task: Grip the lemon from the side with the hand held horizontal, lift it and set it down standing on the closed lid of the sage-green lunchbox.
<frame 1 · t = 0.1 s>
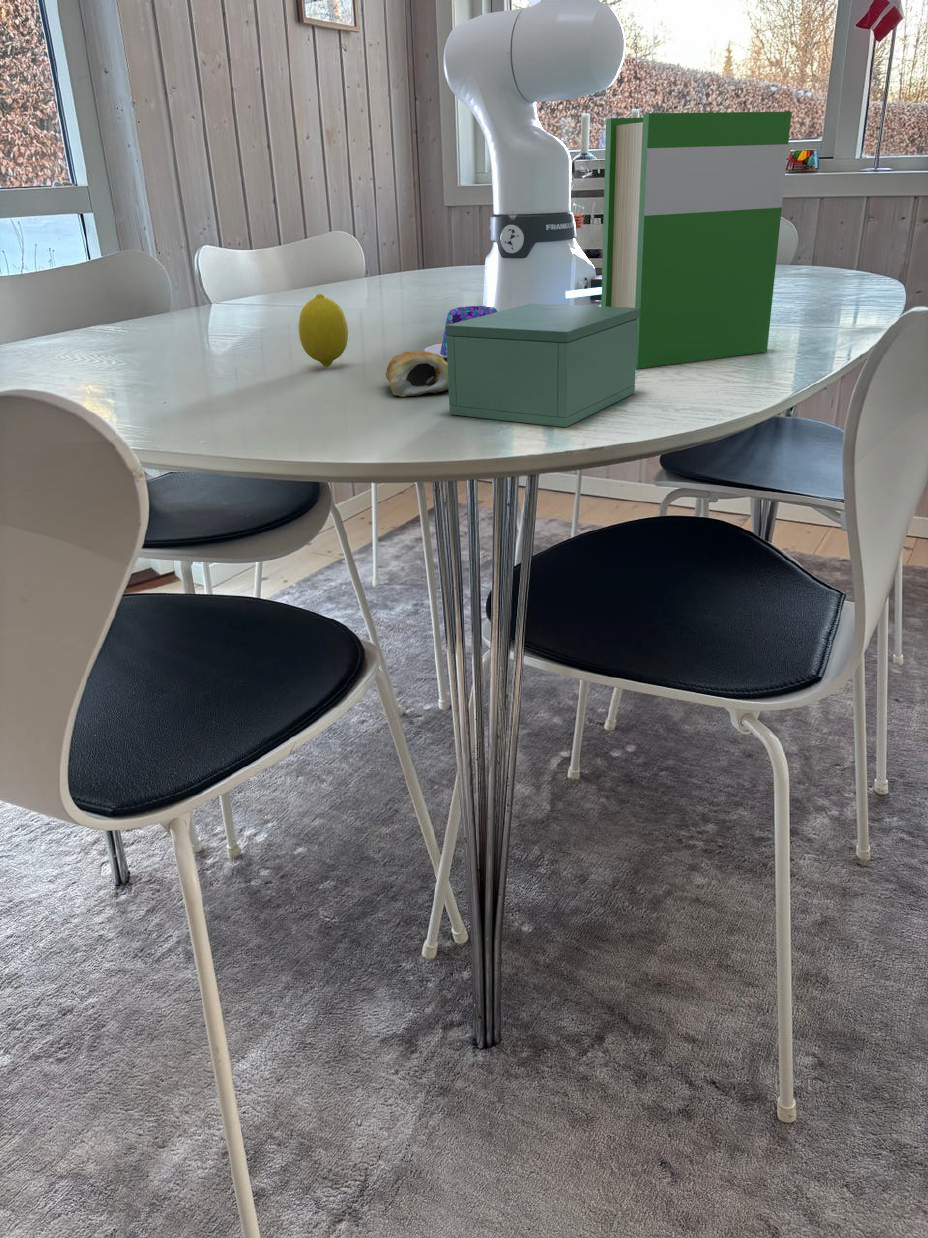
lemon: (327, 368, 106), on the table
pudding: (474, 356, 110), on the table
hardback book: (683, 356, 105), on the table
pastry: (418, 390, 93), on the table
lunchbox: (545, 403, 85), on the table
lunchbox lid: (546, 321, 82), point 7 cm above the table, hinge at 0.0°
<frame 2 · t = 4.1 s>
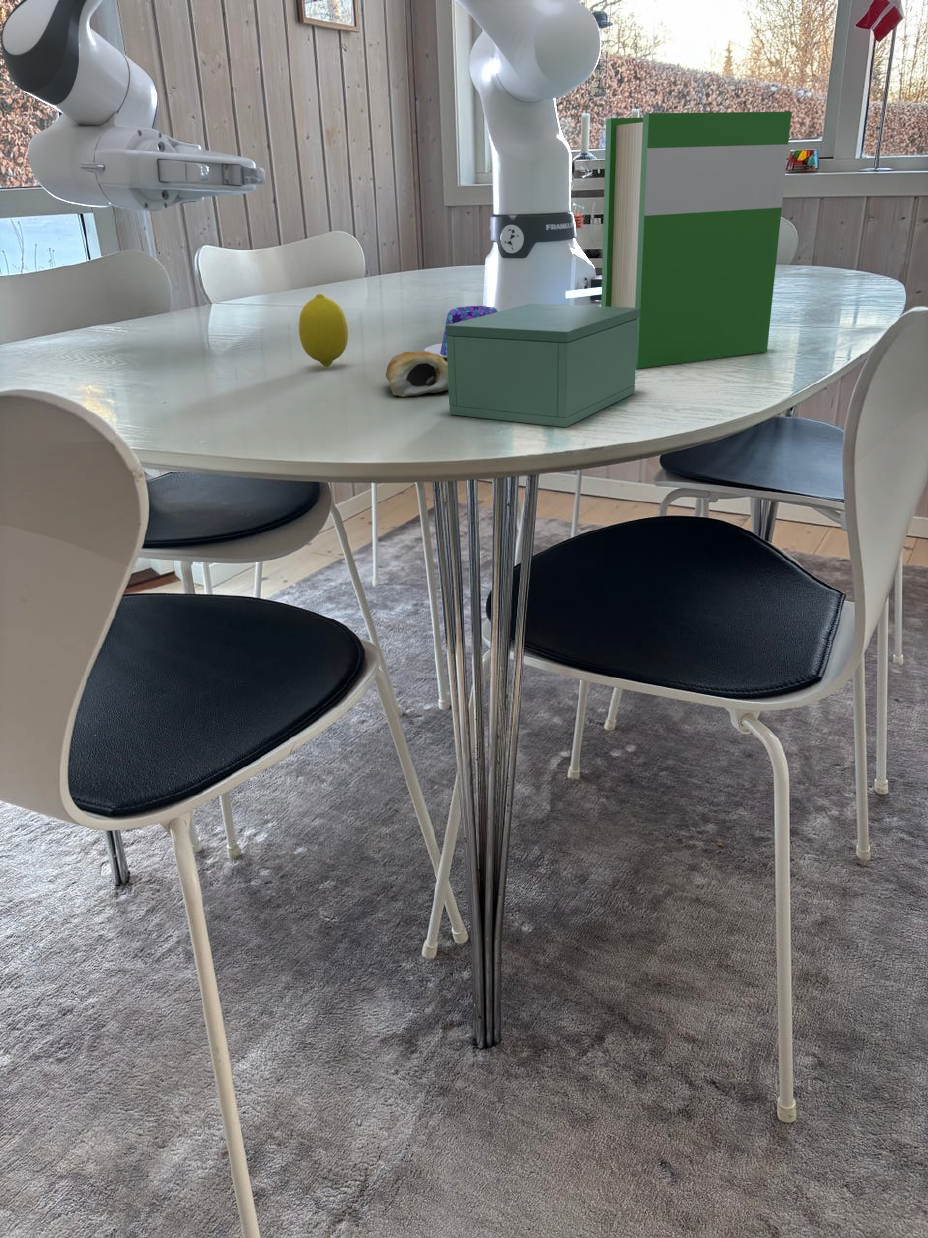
hand: (233, 174, 102), 20 cm above the table, tool horizontal, fingers open, 8 cm apart
nothing on the table moved.
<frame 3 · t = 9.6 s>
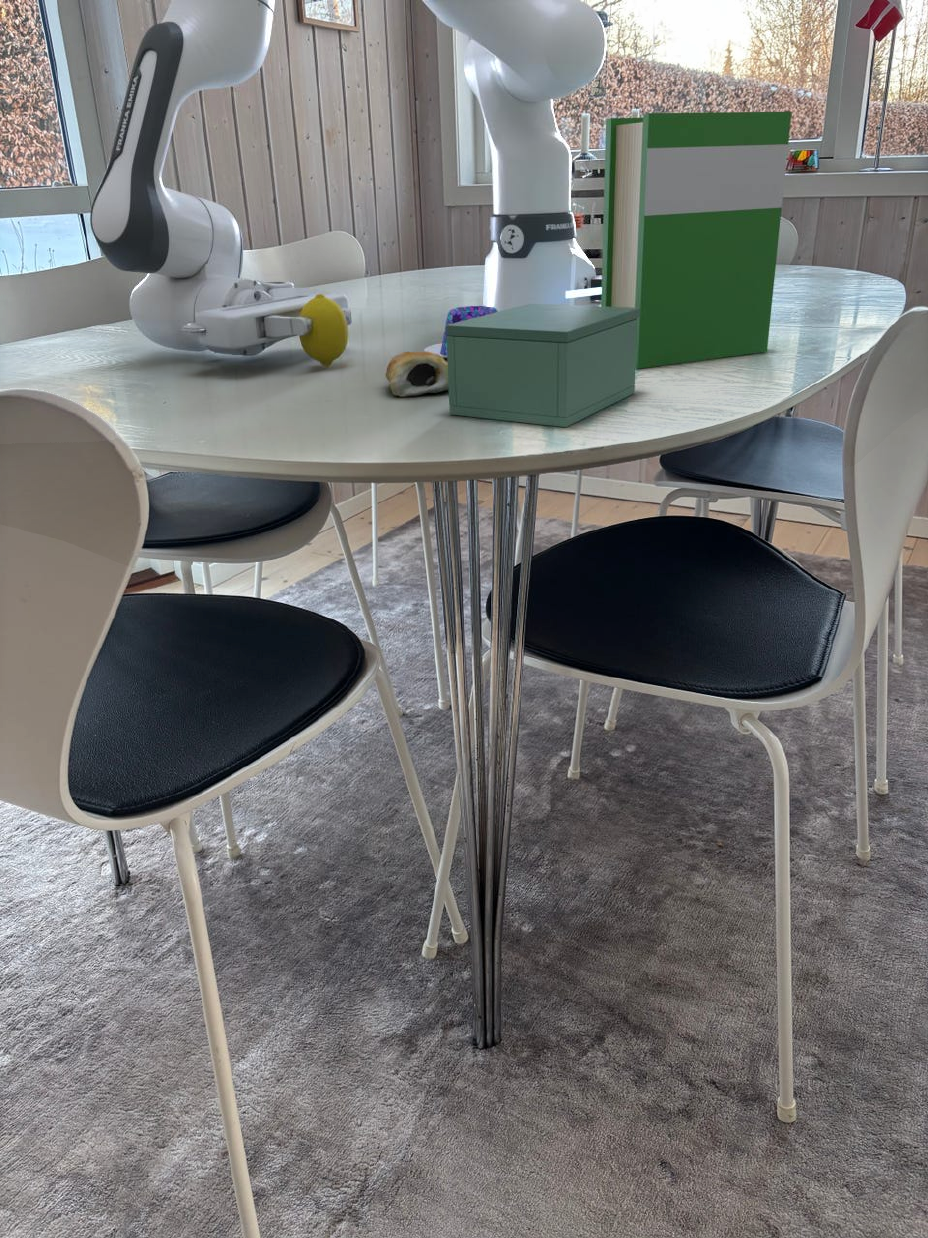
hand: (328, 321, 103), 5 cm above the table, tool horizontal, fingers closed on lemon, 5 cm apart
lemon: (327, 368, 106), on the table, touching gripper
everything else where it was.
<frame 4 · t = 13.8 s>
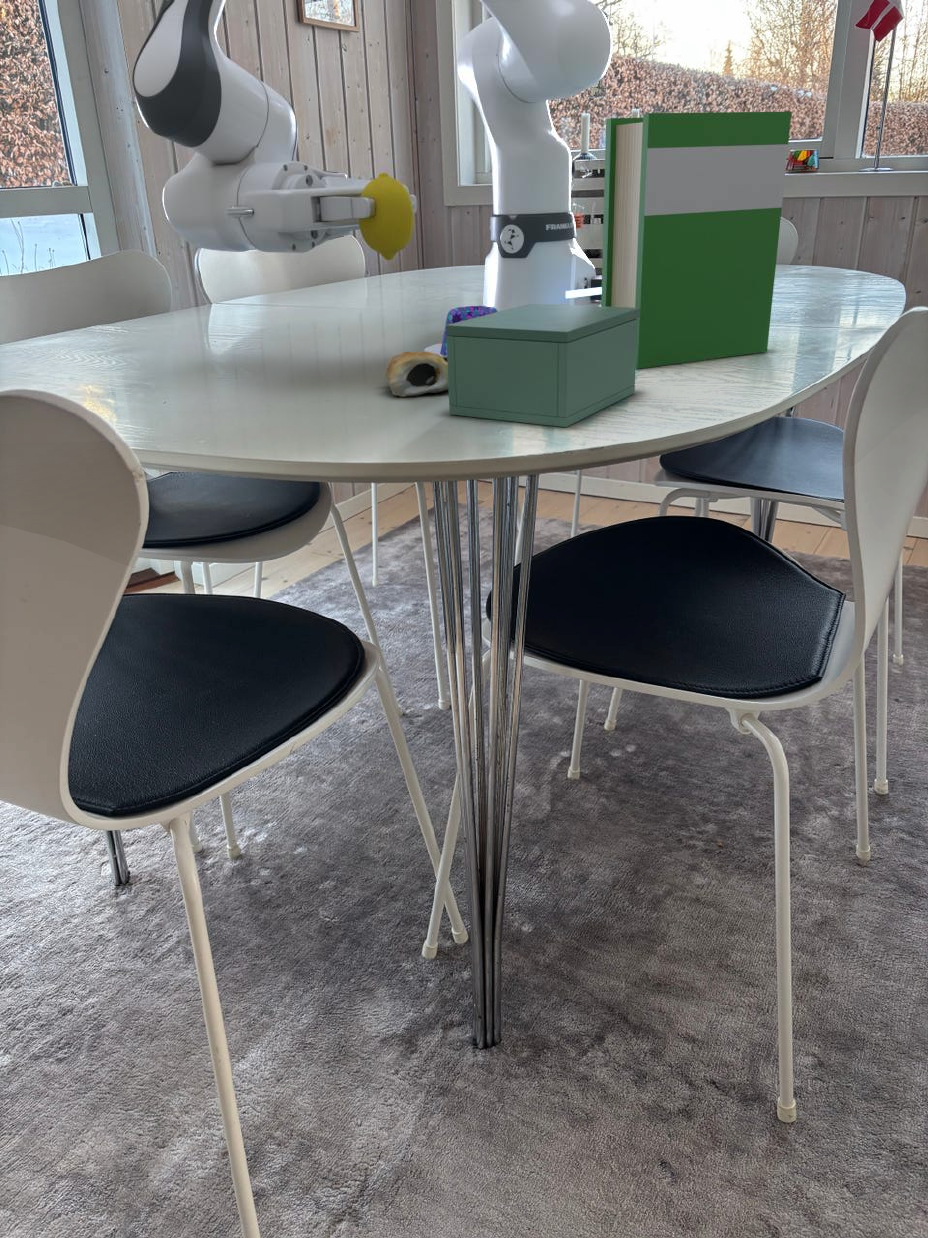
hand: (393, 205, 90), 17 cm above the table, tool horizontal, fingers closed on lemon, 5 cm apart
lemon: (388, 262, 93), point 12 cm above the table, touching gripper
everything else where it was.
when the fingers open (13 cm above the table, at t = 18.2 s): lemon stays where it is, resting on lunchbox lid.
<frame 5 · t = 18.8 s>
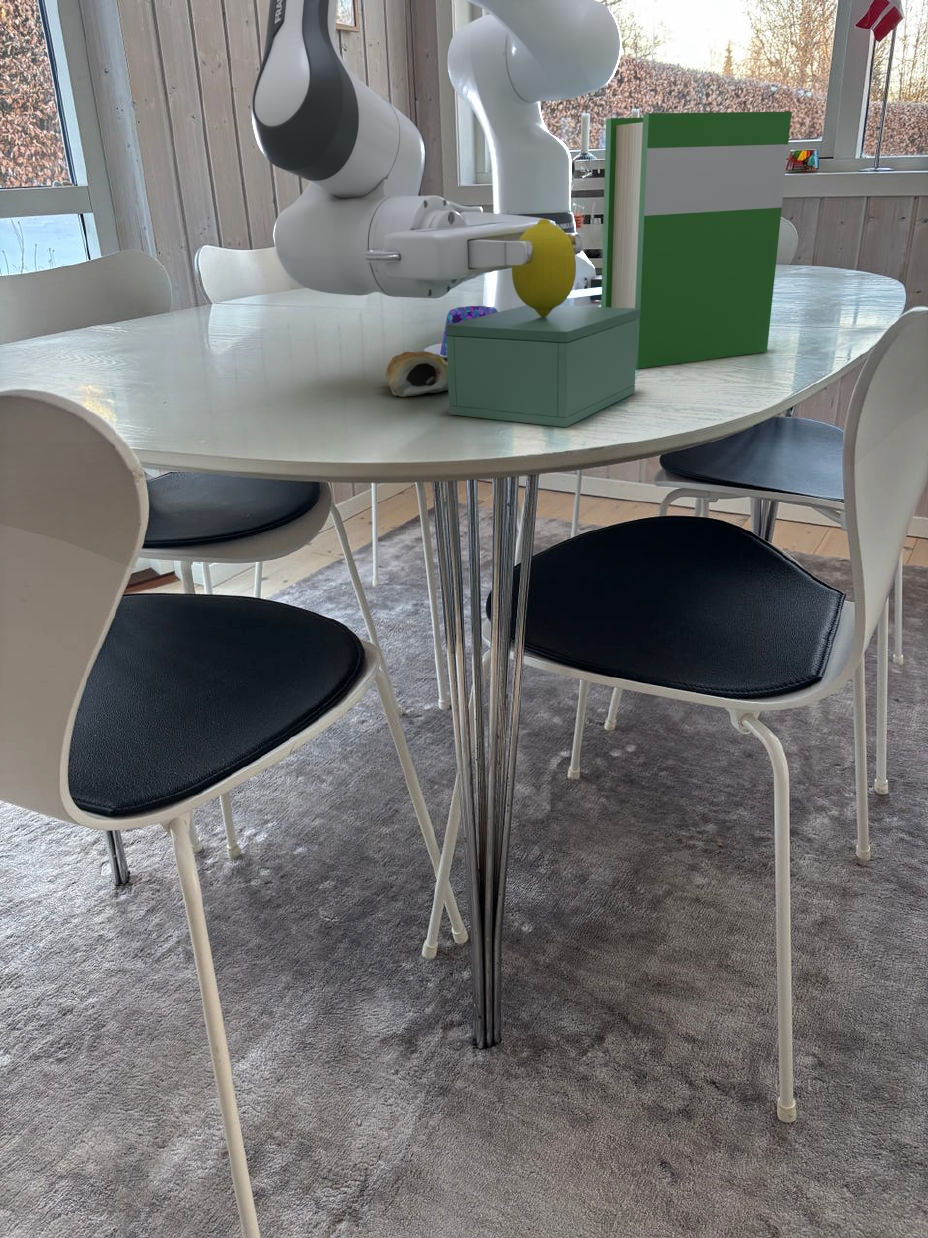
hand: (555, 248, 79), 13 cm above the table, tool horizontal, fingers open, 8 cm apart
lemon: (543, 319, 82), point 7 cm above the table, touching lunchbox lid
lunchbox lid: (546, 321, 82), point 7 cm above the table, hinge at -0.2°, touching lemon, lunchbox
everything else where it was.
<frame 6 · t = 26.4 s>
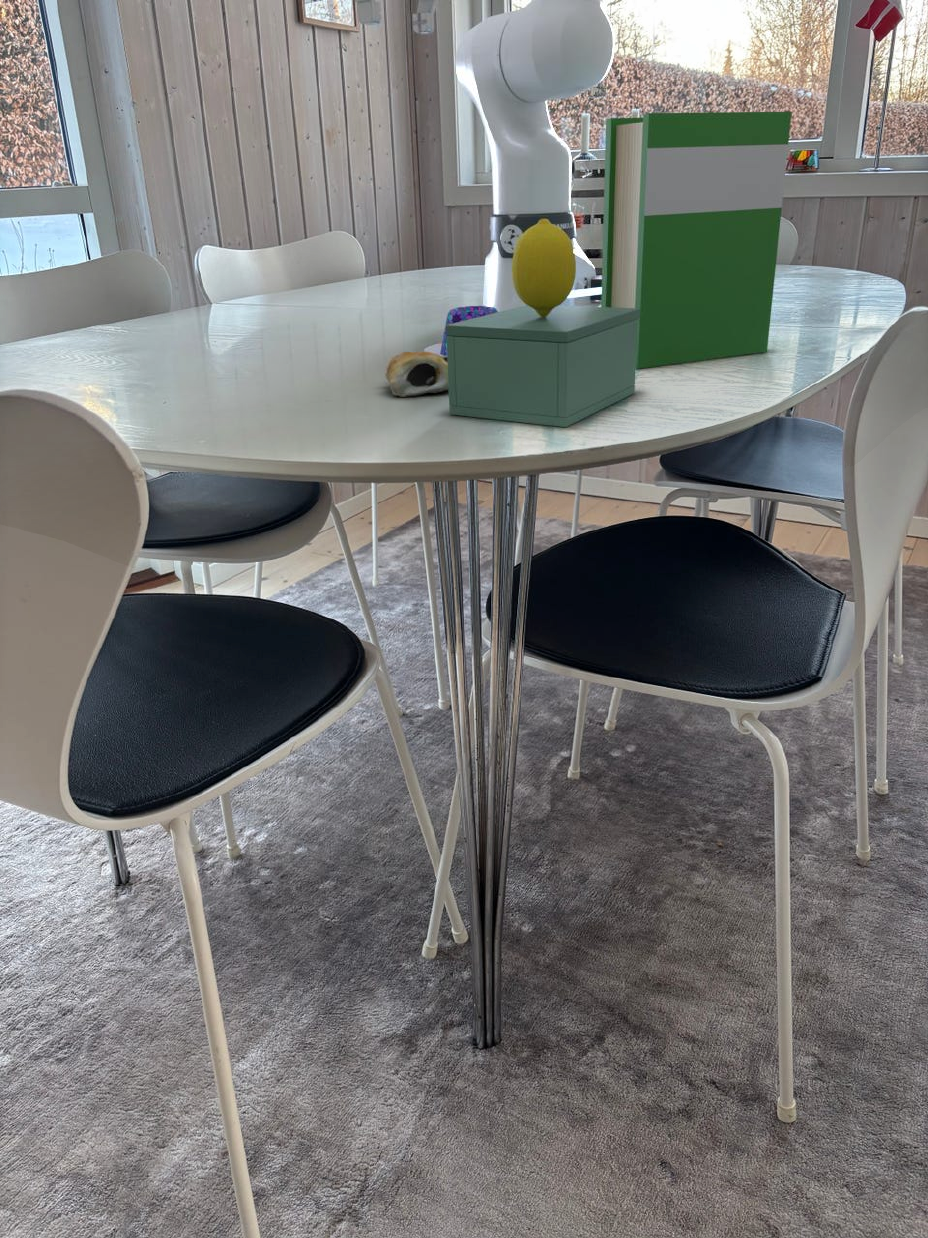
hand: (397, 28, 94), 33 cm above the table, tool pointing down, fingers open, 8 cm apart
nothing on the table moved.
at the end: lemon inside the target area on the lunchbox (0.1 cm from its centre), point 7.5 cm above the lunchbox's base; the gripper is holding nothing; lunchbox lid at +0° (first picture: +0°) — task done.
